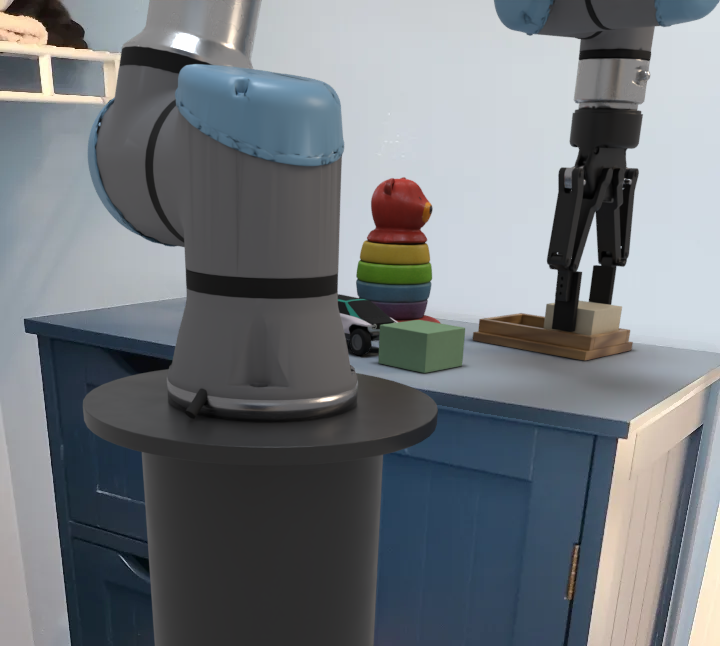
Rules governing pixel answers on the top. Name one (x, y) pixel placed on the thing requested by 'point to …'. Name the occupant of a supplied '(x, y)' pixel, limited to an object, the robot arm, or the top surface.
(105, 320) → the top surface
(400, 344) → the sage block
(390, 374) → the top surface
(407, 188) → the stacking bear
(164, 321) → the top surface
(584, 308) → the beige block
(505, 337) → the frame
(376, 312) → the toy car
